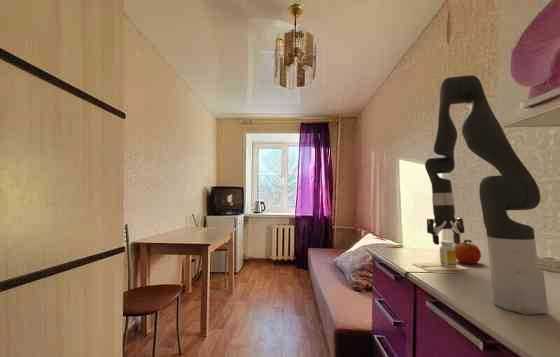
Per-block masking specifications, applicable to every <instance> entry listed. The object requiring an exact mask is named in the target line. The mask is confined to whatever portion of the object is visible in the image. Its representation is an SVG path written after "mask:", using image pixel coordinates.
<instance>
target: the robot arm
mask: <svg viewBox="0 0 560 357" xmlns="http://www.w3.org/2000/svg"><path fill="white" fill-rule="evenodd" d="M457 104H459V105H460V104H466V105H468V107H469V112H468V114H467V116H466V117H465V119H464V121H463V123H462V126H461V134H462V136H463V138H464V142H465V143H466V146H467V147H468V149H469V150H470V151H471V152H472V153H473V154H474V155H476V156H478V157H480V158H481V159H482V160H484V161H485V162H487V163H489V164H490V165H491V166H493V167H494V168H495V169H496V170H497V171H498V172H499V174H500V175H489V176H485V177H483V178H482V179H481V181H480V184H479V189H478V190H479V192H478V193H479V200H480V207H481V211H482V219H483V223H484V224H483V225H484V227H485V232H486V238H487V239H486V240H487V249H488V250H487V251H488V259H489V262H488V263H489V270H490V271H489V272H490V281H491V289H492V299H493V300H492V302H493V304H494V305H496V306H498V307H499V308H502V309H504V310H507V311H511V312H516V313H520V314H521V315H523V316H525V315H527V316H528V315H541V314H543V315H545V314H549V308H548V307H549V306H548V299H547V292H546V289H547V288H546V282H545V274H544V272H543V271H541V270H539V261H538V253H537V252H538V251H537V244H536V243H537V241H536V234H535V230H534V228H533V227H532V226H530V225H528V224H524V223H520V222H518V221H515V220H513V219H512V218H510V216H509V214H508V212H507V211H528V210H533V209H535V208H537V207H538V206H539V204H540V202H541V193H540V188H539V186H538V184H537V181H536V179H535V178H534V177H533V175H532V174H531V173H530V171H529V170H528V169H527V167H526V166H525V164H524V163H523V161H522V160H521V159H520V158H519V156H518V154H517V153H516V152H515V150H514V148H513V147H512V145H511V143H510V141H509V140H508V137H507V136H506V133H505V132H504V131H505V130H504V129H503V127H502V126H501V123H500V122H499V121H498V120H499V119H497V117H496V116H495V114H494V112H493V110H492V108H491V106H490V104H489V102H488V99H487V96H486V94H485V90H484V88H483V85H482V83H481V81H480V79H479V78H478V77H477V76H476V75H470V74H469V75H460V76H454V77H453V76H451V77H447V78H445V79H444V80H443V81H442V82H441V84H440V88H439V94H438V108H437V109H438V110H437V128H436V133H435V134H436V136H435V140H434V145H433V153H434V154H436V155H438V156H436V157H435V156H434V157H433V156H431V157H428V158H427V159H426V160H425V163H424V168H425V170H426V173H427V175H428V177H429V181H430V183H431V193H432V197H431V200H432V202H431V203H432V212H433V216H434V218H427V219H426V233H427V234H430V235H431V236H432V242H433V244H434V245H437V246H439V245H440V236H439V233H440V232H441V231H443V230H449V231H451V232H452V233H453V244H455V245H456V244H459V243H461V235H462V234H464V233H465V226H464V218H462V217H455V216H456V210H455V200H454V195H453V188H452V181H451V180H450V179H448V178H443V177H441V176H439V174H450V173H452V172H453V171H454V169H455V164H456V163H455V147H456V143H457V139H458V131H457V128H456V126H455V123H454V122H453V120H452V117H451V115H450V109H451V105H457Z"/></svg>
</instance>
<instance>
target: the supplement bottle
mask: <svg viewBox="0 0 560 357" xmlns="http://www.w3.org/2000/svg"><path fill="white" fill-rule="evenodd" d="M440 244H441V246H439V259H440V260H439V262H441V265H442V266H447V267H455V266H456V265H457V259H456V253H455V248H454V246H453V245H454V241H451V240H441V241H440Z"/></svg>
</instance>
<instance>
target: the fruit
mask: <svg viewBox="0 0 560 357" xmlns="http://www.w3.org/2000/svg"><path fill="white" fill-rule="evenodd" d="M453 247H454V248H455V253H456V261H458V262H460V263H463V264H467V265H472V264H476V263H478V262H480V260H481V258H482V254H481V251H480V249H479V248H480V247H478V246H477V245H476V244H473V243H472V240H471V239H464V240H463V242H460V243H459V244H455V245H454V246H453Z"/></svg>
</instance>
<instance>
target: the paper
mask: <svg viewBox="0 0 560 357" xmlns="http://www.w3.org/2000/svg"><path fill="white" fill-rule="evenodd" d="M412 265H413V266H416V267H417V268H420V269H423V270H425V271H426V272H427V271H428V272H440V271H441V272H443V271H446V272H447V271H463V270H464V271H465V270H467V271H468V270H469V269H470V268H468V267H465V266H462V265H458V264H456V266H455V267H447V266H442V265H441V261H439V262H422V263H421V262H419V263H416V262H415V263H412Z"/></svg>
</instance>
